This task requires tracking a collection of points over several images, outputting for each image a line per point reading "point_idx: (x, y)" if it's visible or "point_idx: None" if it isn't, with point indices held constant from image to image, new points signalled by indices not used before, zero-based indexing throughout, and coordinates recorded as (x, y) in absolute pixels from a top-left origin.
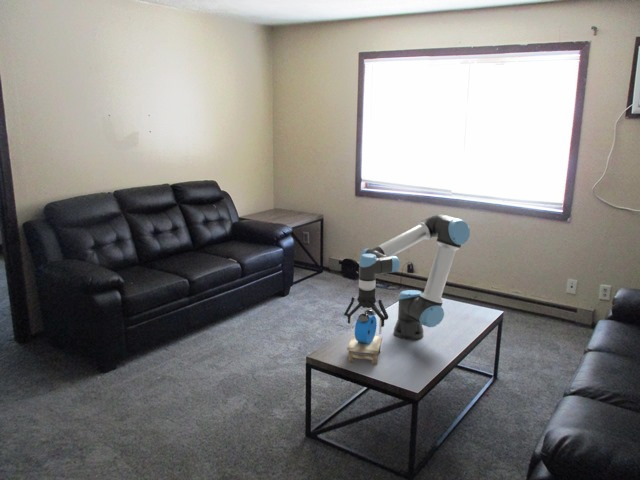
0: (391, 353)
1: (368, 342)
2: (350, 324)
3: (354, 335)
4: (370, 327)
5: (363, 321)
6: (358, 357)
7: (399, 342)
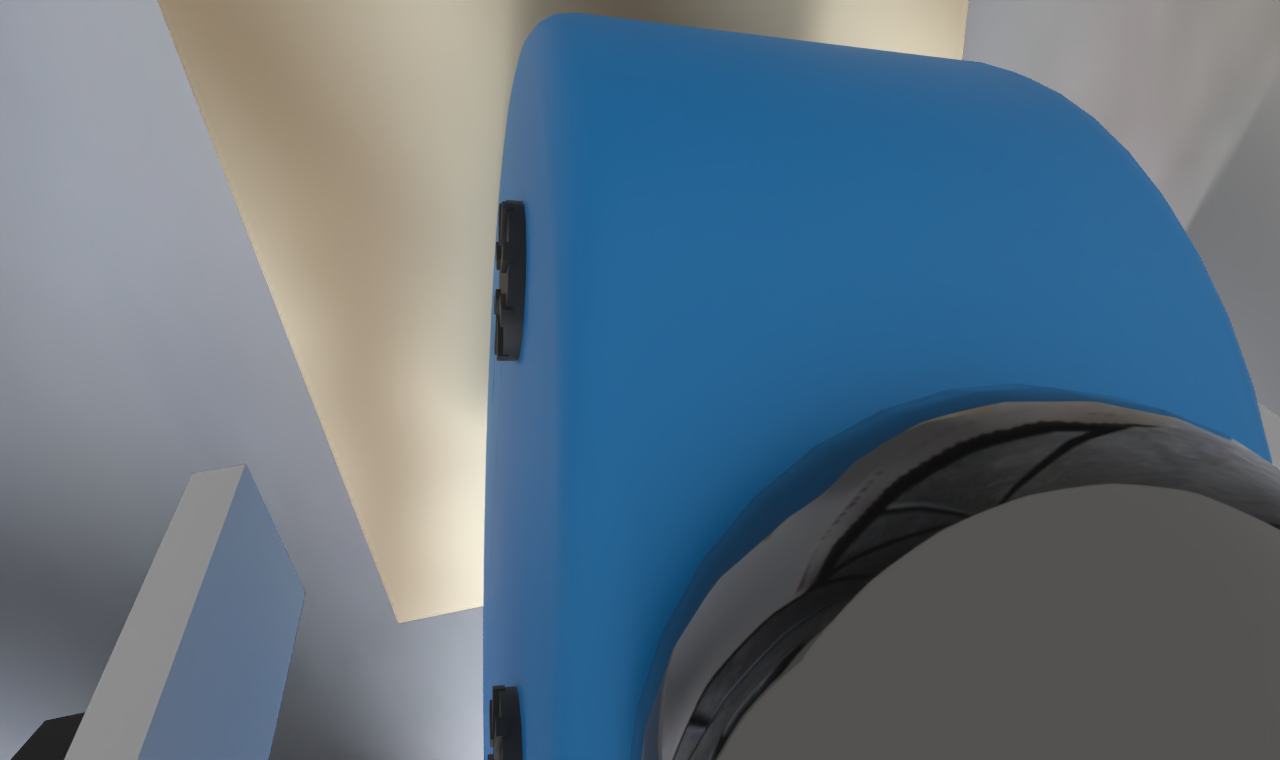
0: (254, 447)
1: (502, 162)
2: (1266, 423)
3: None
4: (514, 508)
5: (972, 432)
6: None
7: (306, 718)
